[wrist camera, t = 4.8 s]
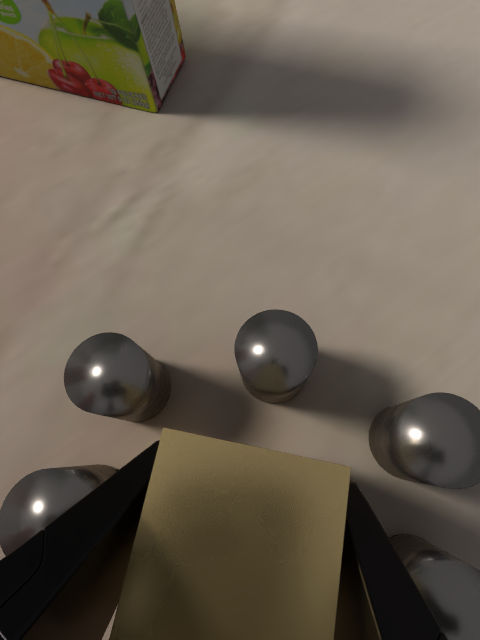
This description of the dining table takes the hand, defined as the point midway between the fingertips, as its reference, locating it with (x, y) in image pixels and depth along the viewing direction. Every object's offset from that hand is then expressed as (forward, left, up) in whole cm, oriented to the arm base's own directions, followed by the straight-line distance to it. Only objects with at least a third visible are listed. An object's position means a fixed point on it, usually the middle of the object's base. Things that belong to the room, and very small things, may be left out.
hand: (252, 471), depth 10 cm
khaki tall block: (-1, +1, -7) cm, 7 cm away
